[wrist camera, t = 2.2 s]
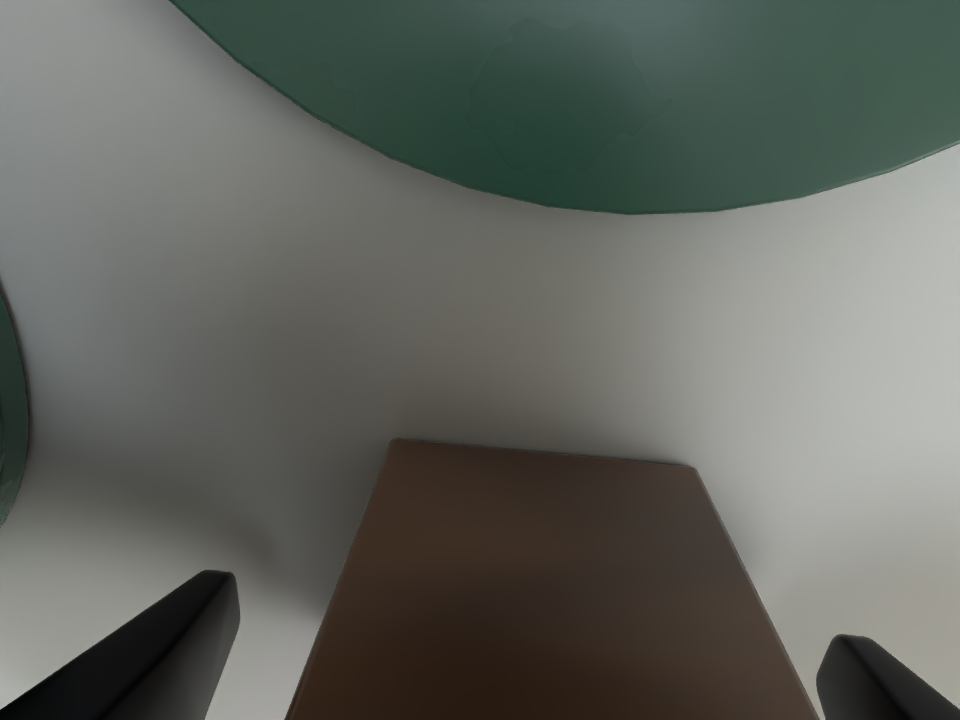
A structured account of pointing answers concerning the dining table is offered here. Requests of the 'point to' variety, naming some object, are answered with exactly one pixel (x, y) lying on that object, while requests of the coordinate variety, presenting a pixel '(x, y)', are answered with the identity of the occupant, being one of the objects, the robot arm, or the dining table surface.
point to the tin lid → (616, 91)
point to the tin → (11, 414)
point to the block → (543, 598)
